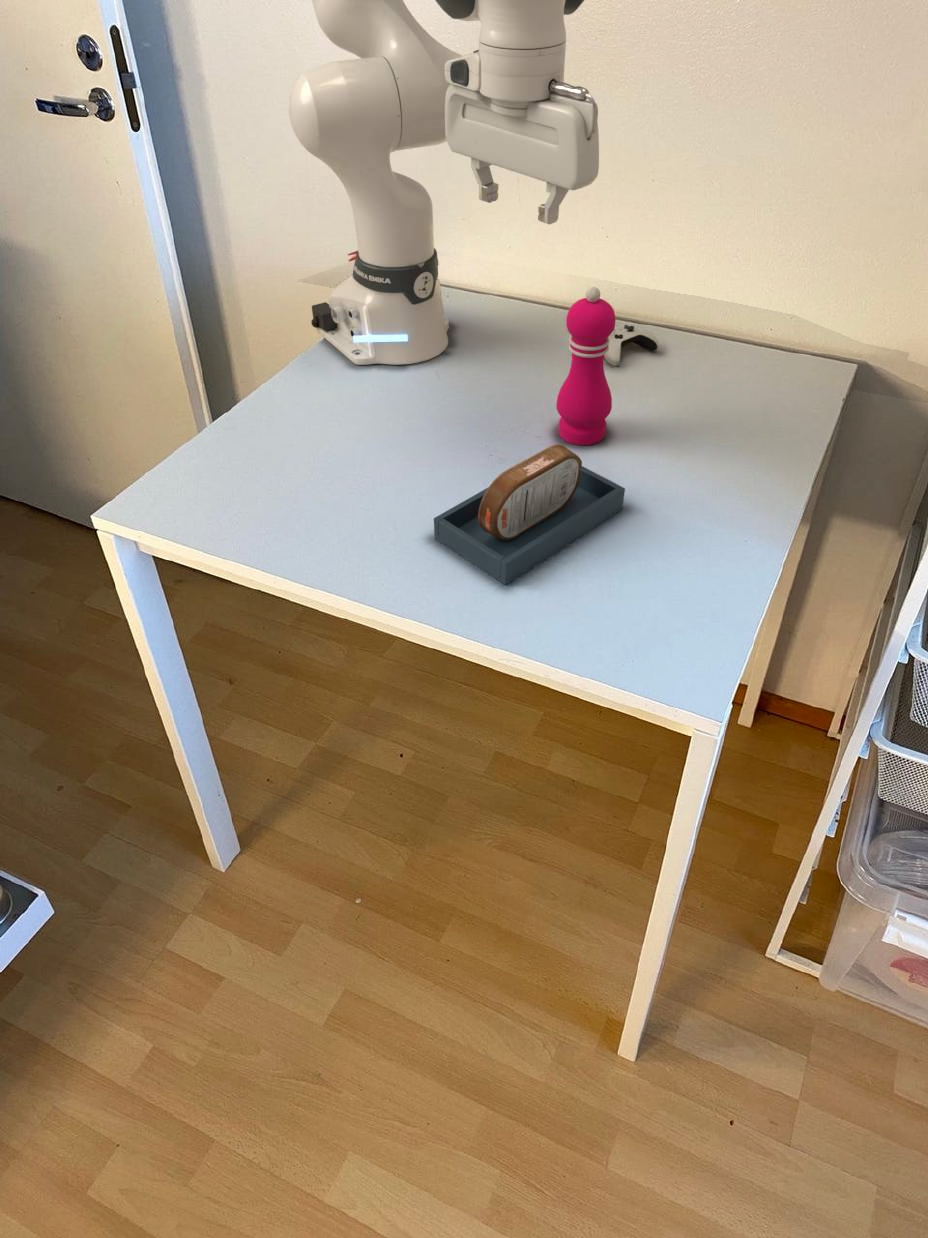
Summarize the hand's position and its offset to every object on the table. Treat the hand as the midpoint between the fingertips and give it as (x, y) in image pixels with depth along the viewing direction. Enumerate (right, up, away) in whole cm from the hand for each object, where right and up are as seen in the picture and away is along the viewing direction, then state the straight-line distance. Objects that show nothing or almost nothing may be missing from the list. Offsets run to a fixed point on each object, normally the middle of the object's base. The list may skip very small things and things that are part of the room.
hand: (517, 210), depth 104 cm
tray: (+2, -35, +4) cm, 35 cm away
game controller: (+18, -6, +36) cm, 41 cm away
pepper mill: (+10, -22, +19) cm, 30 cm away
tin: (+2, -35, +4) cm, 35 cm away
